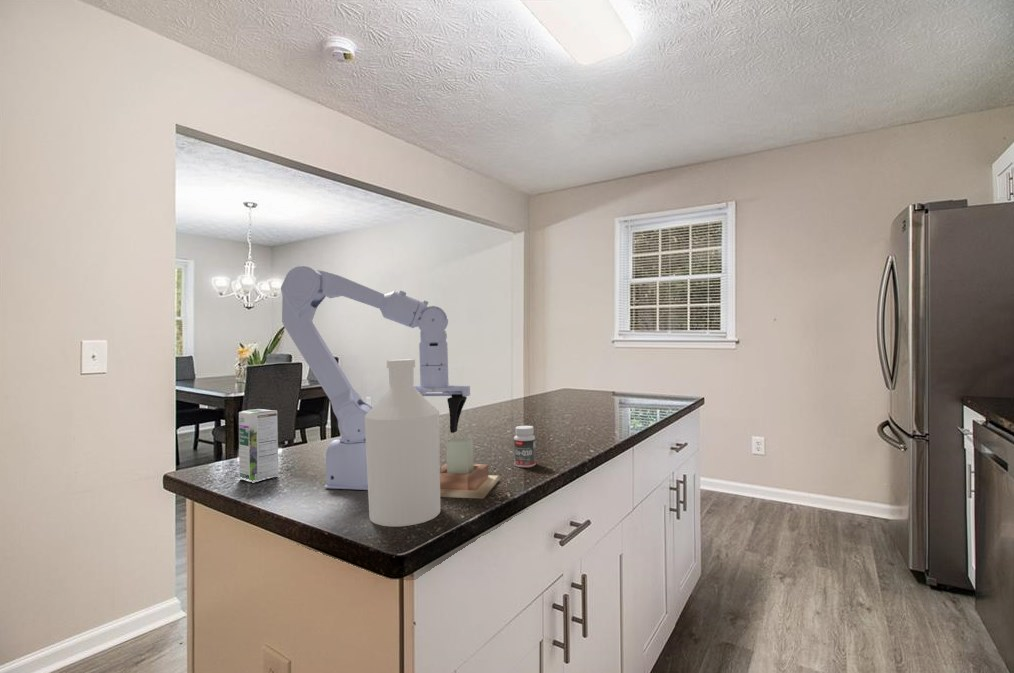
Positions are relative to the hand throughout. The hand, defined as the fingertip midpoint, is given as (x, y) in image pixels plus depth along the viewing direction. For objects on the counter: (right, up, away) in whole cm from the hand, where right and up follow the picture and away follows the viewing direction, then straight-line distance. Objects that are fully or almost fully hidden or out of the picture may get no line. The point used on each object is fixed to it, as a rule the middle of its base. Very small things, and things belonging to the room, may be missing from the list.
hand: (435, 431), depth 100 cm
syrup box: (-38, -11, +4) cm, 40 cm away
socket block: (+6, -9, -7) cm, 13 cm away
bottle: (-2, -10, -20) cm, 22 cm away
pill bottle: (+19, -9, +8) cm, 22 cm away
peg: (+6, -8, -7) cm, 12 cm away
